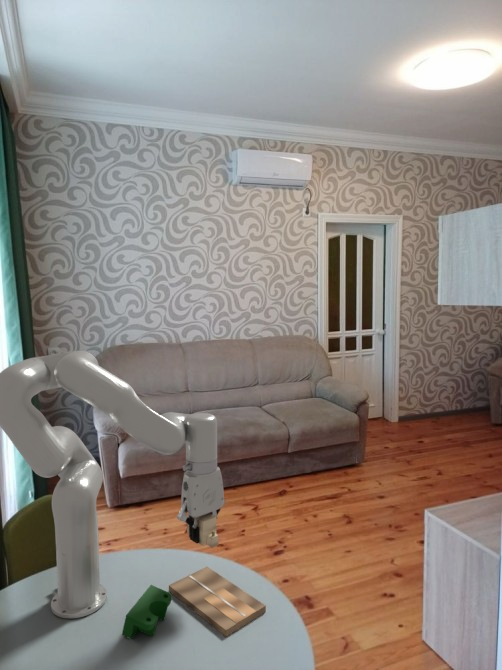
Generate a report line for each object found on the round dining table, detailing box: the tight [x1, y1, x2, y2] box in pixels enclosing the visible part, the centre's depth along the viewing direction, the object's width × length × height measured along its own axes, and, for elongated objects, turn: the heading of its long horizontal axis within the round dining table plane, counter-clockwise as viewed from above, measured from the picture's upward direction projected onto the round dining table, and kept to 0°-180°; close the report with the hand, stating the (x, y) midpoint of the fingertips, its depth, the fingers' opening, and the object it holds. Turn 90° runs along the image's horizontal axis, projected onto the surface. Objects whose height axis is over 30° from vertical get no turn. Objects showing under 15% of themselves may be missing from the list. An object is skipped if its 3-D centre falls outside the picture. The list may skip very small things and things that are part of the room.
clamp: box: [121, 584, 173, 640], centre depth 107 cm, size 12×6×9 cm, turn 158°
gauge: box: [186, 513, 220, 549], centre depth 118 cm, size 10×4×6 cm, turn 43°
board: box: [168, 566, 267, 638], centre depth 116 cm, size 22×12×2 cm, turn 43°
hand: (202, 537), depth 118 cm, fingers closed on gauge, 4 cm apart
